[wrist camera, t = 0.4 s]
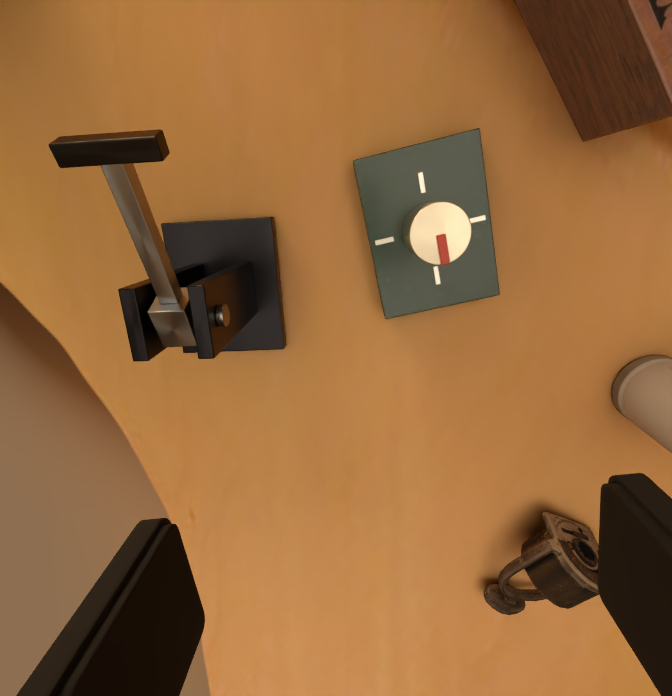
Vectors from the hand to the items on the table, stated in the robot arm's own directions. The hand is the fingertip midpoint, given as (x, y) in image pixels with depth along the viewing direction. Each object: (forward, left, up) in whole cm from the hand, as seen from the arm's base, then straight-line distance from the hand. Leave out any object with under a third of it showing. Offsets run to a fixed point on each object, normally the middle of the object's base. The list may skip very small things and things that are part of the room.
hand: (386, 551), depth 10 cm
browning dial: (-4, +6, -26) cm, 27 cm away
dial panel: (-4, +6, -29) cm, 30 cm away
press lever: (-8, -10, -17) cm, 21 cm away
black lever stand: (-3, -11, -29) cm, 31 cm away
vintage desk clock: (+30, +11, -29) cm, 43 cm away
